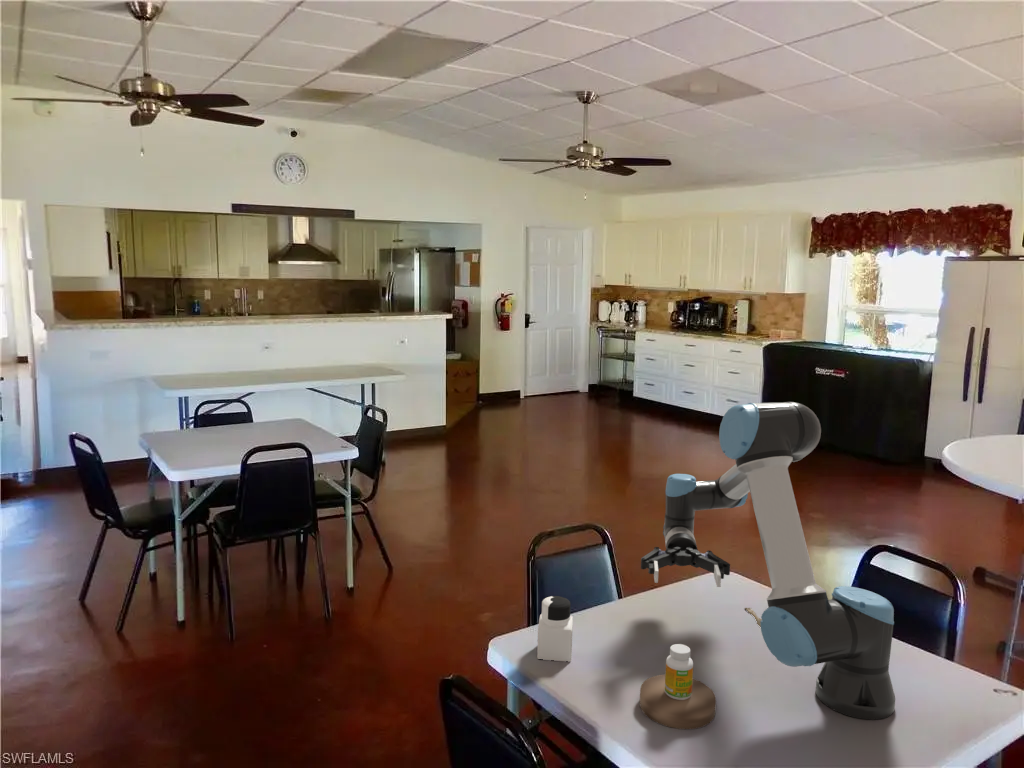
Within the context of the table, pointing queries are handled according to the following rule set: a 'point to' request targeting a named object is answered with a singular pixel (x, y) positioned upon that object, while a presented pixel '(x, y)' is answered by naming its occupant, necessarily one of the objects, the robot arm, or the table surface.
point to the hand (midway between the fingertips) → (687, 579)
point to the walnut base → (677, 704)
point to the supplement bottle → (679, 673)
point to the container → (555, 630)
